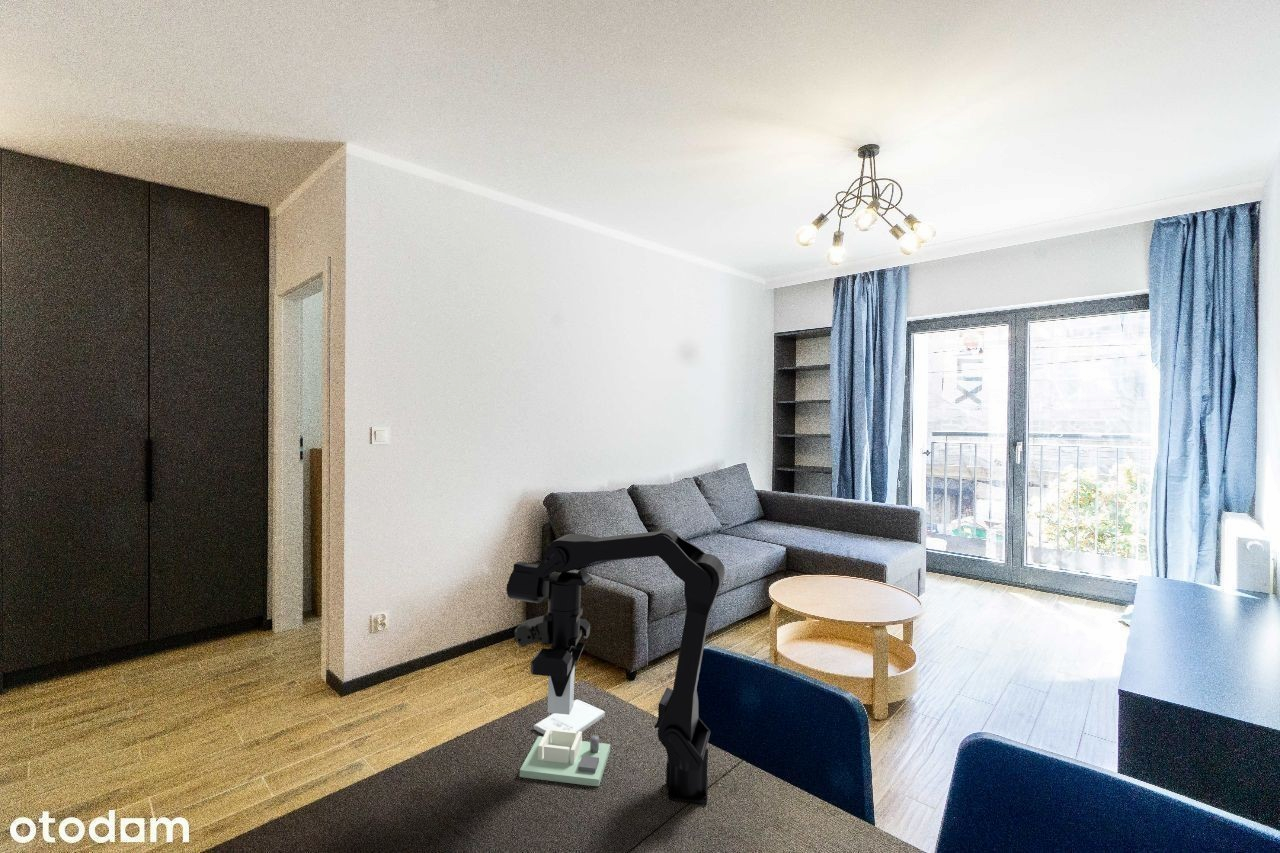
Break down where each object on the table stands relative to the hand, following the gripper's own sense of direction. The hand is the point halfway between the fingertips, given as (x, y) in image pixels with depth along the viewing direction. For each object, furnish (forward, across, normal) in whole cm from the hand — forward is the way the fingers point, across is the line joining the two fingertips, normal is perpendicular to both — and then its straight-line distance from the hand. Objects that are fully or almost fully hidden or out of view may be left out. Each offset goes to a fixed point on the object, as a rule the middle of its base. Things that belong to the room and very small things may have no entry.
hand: (561, 691), depth 97 cm
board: (+13, 0, +2) cm, 13 cm away
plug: (+3, 0, 0) cm, 3 cm away
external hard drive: (+14, -12, -1) cm, 18 cm away
